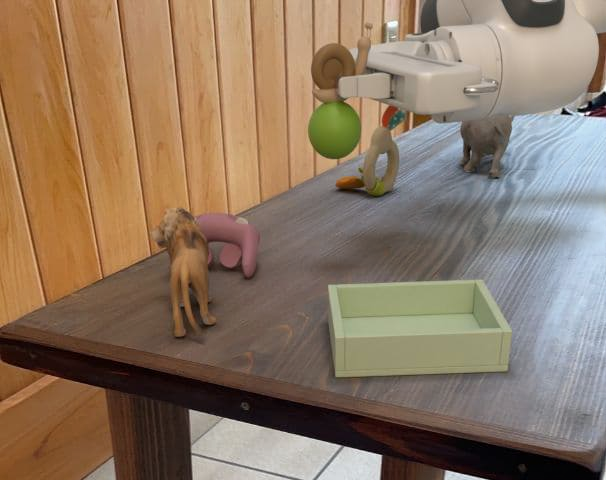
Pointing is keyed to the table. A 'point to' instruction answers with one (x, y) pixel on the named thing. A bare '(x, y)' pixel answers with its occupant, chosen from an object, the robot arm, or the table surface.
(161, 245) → the lion figurine
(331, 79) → the snail figurine
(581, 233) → the table surface
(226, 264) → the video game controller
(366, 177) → the rattle
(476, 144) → the rhinoceros figurine
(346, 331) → the tray
